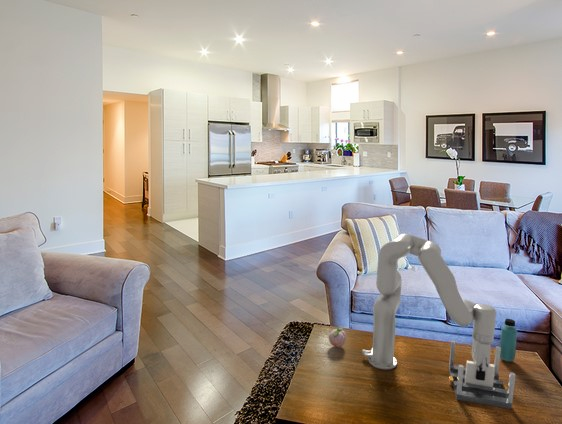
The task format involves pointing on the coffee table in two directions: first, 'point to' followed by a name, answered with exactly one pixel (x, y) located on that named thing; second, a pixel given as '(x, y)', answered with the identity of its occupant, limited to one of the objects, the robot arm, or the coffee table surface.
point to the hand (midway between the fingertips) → (479, 377)
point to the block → (471, 374)
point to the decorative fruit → (337, 337)
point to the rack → (477, 393)
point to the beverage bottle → (508, 340)
